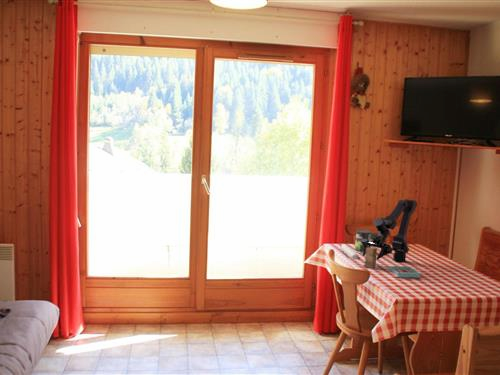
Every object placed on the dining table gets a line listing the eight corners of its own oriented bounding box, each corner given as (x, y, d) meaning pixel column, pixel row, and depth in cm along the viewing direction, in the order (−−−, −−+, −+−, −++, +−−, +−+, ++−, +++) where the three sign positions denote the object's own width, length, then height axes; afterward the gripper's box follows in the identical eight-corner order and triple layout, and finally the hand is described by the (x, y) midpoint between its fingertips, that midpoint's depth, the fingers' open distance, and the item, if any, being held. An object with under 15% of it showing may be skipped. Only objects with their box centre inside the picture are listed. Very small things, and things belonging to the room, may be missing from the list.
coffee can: (361, 254, 331) (362, 232, 329) (351, 250, 340) (353, 229, 339) (373, 253, 335) (375, 232, 334) (364, 249, 345) (365, 229, 343)
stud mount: (373, 267, 299) (374, 260, 298) (377, 271, 292) (378, 263, 291) (361, 267, 298) (362, 260, 297) (366, 271, 291) (366, 263, 290)
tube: (361, 255, 312) (349, 245, 337) (353, 252, 311) (342, 242, 336) (358, 263, 312) (346, 253, 337) (350, 260, 312) (339, 250, 336)
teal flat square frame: (409, 271, 294) (410, 266, 294) (420, 278, 281) (420, 273, 281) (388, 271, 292) (388, 266, 292) (397, 278, 279) (398, 272, 279)
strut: (368, 265, 298) (370, 247, 297) (375, 267, 295) (376, 248, 293) (364, 266, 295) (366, 247, 293) (371, 268, 292) (372, 249, 290)
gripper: (363, 225, 302) (351, 245, 295) (391, 230, 289) (380, 252, 282) (369, 236, 308) (358, 257, 302) (397, 242, 295) (386, 264, 289)
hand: (370, 257), depth 293 cm, fingers open, 9 cm apart
